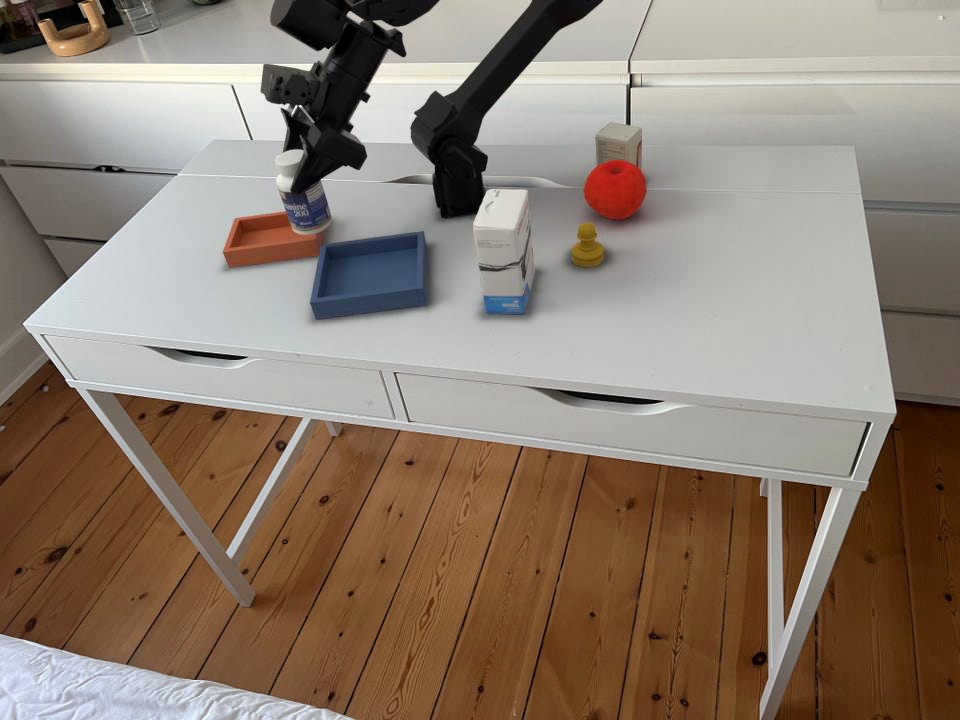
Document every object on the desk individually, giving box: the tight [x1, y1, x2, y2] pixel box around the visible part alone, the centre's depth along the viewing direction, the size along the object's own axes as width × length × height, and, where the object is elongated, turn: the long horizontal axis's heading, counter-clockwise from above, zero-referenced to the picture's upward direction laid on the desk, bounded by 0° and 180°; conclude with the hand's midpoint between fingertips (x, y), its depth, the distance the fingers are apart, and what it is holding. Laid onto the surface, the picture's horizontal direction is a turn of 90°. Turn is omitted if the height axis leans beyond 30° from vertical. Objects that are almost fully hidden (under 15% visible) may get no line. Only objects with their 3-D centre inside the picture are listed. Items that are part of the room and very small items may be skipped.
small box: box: [594, 121, 643, 172], centre depth 105 cm, size 5×4×8 cm
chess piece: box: [571, 221, 605, 268], centre depth 94 cm, size 4×4×5 cm
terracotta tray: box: [222, 210, 326, 269], centre depth 106 cm, size 13×9×3 cm
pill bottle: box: [274, 149, 333, 235], centre depth 97 cm, size 5×5×10 cm
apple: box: [582, 160, 648, 221], centre depth 99 cm, size 8×8×7 cm
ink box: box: [472, 188, 536, 315], centre depth 88 cm, size 8×5×12 cm, turn 168°
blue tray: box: [309, 230, 428, 320], centre depth 97 cm, size 14×13×3 cm
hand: (287, 183), depth 96 cm, fingers closed on pill bottle, 5 cm apart
